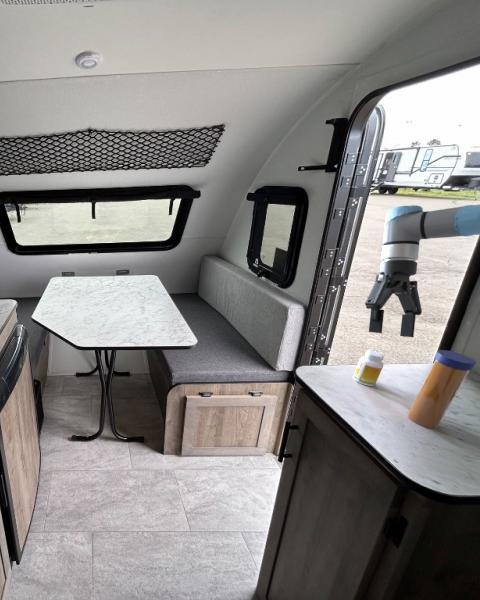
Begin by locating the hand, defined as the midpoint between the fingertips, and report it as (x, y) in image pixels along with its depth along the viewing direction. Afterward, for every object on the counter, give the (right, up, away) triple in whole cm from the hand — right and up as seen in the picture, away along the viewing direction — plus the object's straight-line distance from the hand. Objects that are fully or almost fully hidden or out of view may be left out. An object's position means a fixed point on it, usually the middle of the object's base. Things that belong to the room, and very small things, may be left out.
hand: (391, 334), depth 92 cm
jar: (-1, -21, -9) cm, 23 cm away
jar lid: (0, -4, -16) cm, 16 cm away
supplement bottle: (-2, -15, +7) cm, 17 cm away
